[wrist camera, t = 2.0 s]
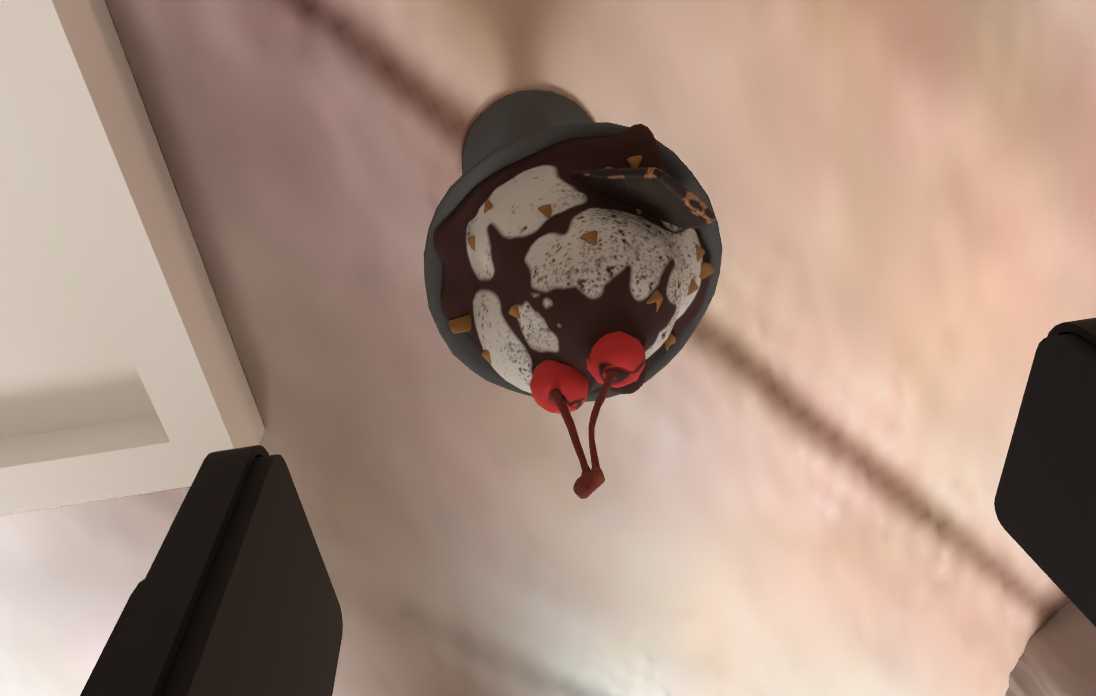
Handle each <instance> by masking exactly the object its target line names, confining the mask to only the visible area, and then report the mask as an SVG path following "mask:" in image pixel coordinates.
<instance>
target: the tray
mask: <svg viewBox="0 0 1096 696" xmlns="http://www.w3.org/2000/svg"><path fill="white" fill-rule="evenodd" d="M264 433H265V428H264V425H263V422H262V420H261V417H260V414H259V412H258V409H257V406H256V404H255V401H254V398H253V396H252V393H251V390H250V388H249V385H248V382H247V380H246V377H245V374H244V372H243V369H242V366H241V364H240V361H239V358H238V356H237V353H236V350H235V348H234V345H233V342H232V339H231V337H230V334H229V331H228V329H227V326H226V323H225V321H224V318H223V315H222V313H221V310H220V307H219V305H218V302H217V299H216V297H215V294H214V291H213V289H212V286H211V283H210V281H209V278H208V275H207V273H206V270H205V267H204V265H203V262H202V259H201V257H200V254H199V251H198V249H197V246H196V243H195V241H194V238H193V235H192V233H191V230H190V227H189V225H188V222H187V219H186V217H185V214H184V211H183V209H182V206H181V203H180V201H179V198H178V195H177V193H176V190H175V187H174V184H173V182H172V179H171V176H170V174H169V171H168V168H167V166H166V163H165V160H164V158H163V155H162V152H161V150H160V147H159V144H158V142H157V139H156V136H155V134H154V131H153V128H152V126H151V123H150V120H149V118H148V115H147V112H146V110H145V107H144V104H143V102H142V99H141V96H140V94H139V91H138V88H137V86H136V83H135V80H134V78H133V75H132V72H131V70H130V67H129V64H128V62H127V59H126V56H125V54H124V51H123V48H122V46H121V43H120V40H119V38H118V35H117V32H116V30H115V27H114V24H113V21H112V19H111V16H110V13H109V11H108V8H107V5H106V3H105V0H0V516H4V515H11V514H17V513H23V512H30V511H36V510H42V509H49V508H55V507H62V506H68V505H74V504H81V503H87V502H94V501H100V500H106V499H113V498H119V497H126V496H132V495H138V494H145V493H151V492H157V491H164V490H170V489H177V488H183V487H189V486H191V485H192V483H193V481H194V479H195V477H196V475H197V473H198V471H199V469H200V467H201V465H202V463H203V461H204V459H205V458H206V456H207V455H208V454H209V453H212V452H216V451H222V450H229V449H235V448H242V447H249V446H255V445H260V442H261V440H262V437H263V435H264Z"/></svg>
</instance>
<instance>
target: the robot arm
mask: <svg viewBox="0 0 1096 696" xmlns="http://www.w3.org/2000/svg"><path fill="white" fill-rule="evenodd" d="M994 505H995V512H996V515H997V518H998V520H999V522H1000V524H1001V525H1002V526H1003V528H1004V529H1005V530H1006V531H1007V532H1008V533H1009V535H1010V536H1011V537H1012V538H1013V539H1014V540H1015V541H1016V542H1017V543H1018V544H1019V545H1020V546H1021V547H1022V549H1023V550H1024V551H1025V552H1026V553H1027V554H1028V555H1029V556H1030V557H1031V558H1032V559H1033V560H1034V561H1035V563H1036V564H1037V565H1038V566H1039V567H1040V568H1041V569H1042V570H1043V571H1044V572H1045V573H1046V574H1047V575H1048V577H1049V578H1050V579H1051V580H1052V581H1053V582H1054V583H1055V584H1056V585H1057V586H1058V587H1059V588H1060V589H1061V591H1062V592H1063V593H1064V594H1065V595H1066V596H1067V597H1068V598H1069V599H1070V600H1071V601H1072V602H1073V603H1074V605H1075V606H1076V607H1077V608H1078V609H1079V610H1080V611H1081V612H1082V613H1083V614H1084V615H1085V616H1086V617H1087V619H1088V620H1089V621H1090V622H1091V623H1092V624H1093V625H1094V626H1095V627H1096V318H1091V319H1084V320H1078V321H1071V322H1064V323H1061V324H1059V325H1056V326H1055V327H1054V328H1053V329H1052V330H1051V331H1050V332H1049V334H1048V336H1047V338H1044V339H1043V340H1042V341H1041V342H1040V343H1039V345H1038V347H1037V350H1036V353H1035V357H1034V360H1033V364H1032V367H1031V371H1030V375H1029V378H1028V382H1027V385H1026V389H1025V393H1024V396H1023V400H1022V403H1021V407H1020V410H1019V414H1018V418H1017V421H1016V425H1015V428H1014V432H1013V435H1012V439H1011V443H1010V446H1009V450H1008V453H1007V457H1006V460H1005V464H1004V468H1003V471H1002V475H1001V478H1000V482H999V486H998V489H997V493H996V496H995V502H994ZM342 629H343V623H342V613H341V608H340V605H339V602H338V599H337V597H336V594H335V591H334V589H333V586H332V583H331V581H330V578H329V575H328V573H327V570H326V568H325V565H324V562H323V560H322V557H321V554H320V552H319V549H318V546H317V544H316V541H315V539H314V536H313V533H312V531H311V528H310V525H309V523H308V520H307V517H306V515H305V512H304V509H303V507H302V504H301V502H300V499H299V496H298V494H297V491H296V488H295V486H294V483H293V480H292V478H291V475H290V473H289V470H288V467H287V465H286V463H285V460H284V459H283V457H282V456H281V455H278V454H277V455H271V456H269V454H268V452H267V451H266V450H265V448H264V447H263V446H260V445H255V446H249V447H242V448H235V449H229V450H222V451H216V452H212V453H209V454H208V455H207V456H206V458H205V459H204V461H203V463H202V465H201V467H200V469H199V471H198V473H197V475H196V477H195V479H194V481H193V483H192V485H191V487H190V489H189V491H188V493H187V495H186V497H185V499H184V501H183V503H182V505H181V507H180V509H179V511H178V513H177V515H176V517H175V519H174V521H173V523H172V525H171V527H170V529H169V531H168V533H167V536H166V538H165V540H164V542H163V544H162V546H161V548H160V550H159V552H158V554H157V556H156V558H155V560H154V562H153V564H152V566H151V568H150V570H149V572H148V574H147V576H146V578H145V579H144V580H143V581H141V582H140V583H139V584H138V585H137V587H136V588H135V590H134V591H133V593H132V594H131V596H130V598H129V600H128V602H127V604H126V606H125V608H124V610H123V612H122V614H121V616H120V618H119V620H118V622H117V623H116V625H115V627H114V629H113V631H112V633H111V635H110V637H109V639H108V641H107V643H106V645H105V647H104V649H103V651H102V653H101V655H100V657H99V659H98V661H97V663H96V665H95V667H94V669H93V671H92V673H91V675H90V677H89V679H88V681H87V683H86V685H85V687H84V689H83V691H82V693H81V695H80V696H332V693H333V687H334V681H335V675H336V669H337V663H338V657H339V651H340V645H341V639H342Z"/></svg>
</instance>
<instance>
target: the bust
mask: <svg viewBox="0 0 1096 696" xmlns="http://www.w3.org/2000/svg"><path fill="white" fill-rule="evenodd" d="M1005 696H1096V627H1095V626H1094V625H1093V624H1092V623H1091V622H1090V621H1089V620H1088V619H1087V617H1086V616H1085V615H1084V614H1083V613H1082V612H1081V611H1080V610H1079V609H1078V608H1077V607H1076V606H1075V605H1074V603H1073V602H1072V601H1070V602H1068V603H1067V604H1065V605H1064V606H1063V607H1062V608H1060V609H1059V610H1058V612H1057V613H1056V614H1055V615H1054V616H1053V617H1052V618H1051V619H1050V620H1049V621H1048V622H1047V623H1046V624H1045V625H1044V627H1043V628H1042V629H1040V630H1039V631H1038V632H1037V633H1035V634H1034V635H1033V636H1032V638H1031V639H1030V640H1029V642H1028V643H1027V645H1026V648H1025V650H1024V653H1023V655H1022V656H1021V657H1020V658H1019V660H1018V663H1017V665H1016V667H1015V668H1014V670H1013V671H1012V672H1011V673H1010V675H1009V688H1008V690H1007V692H1006V695H1005Z"/></svg>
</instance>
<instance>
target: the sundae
mask: <svg viewBox="0 0 1096 696" xmlns="http://www.w3.org/2000/svg"><path fill="white" fill-rule="evenodd" d="M462 169H463V175H462V176H461V177H460V178H459V179H458V180H457V181H456V182H455V183H454V184H453V185H452V186H451V187H450V188H449V190H448V191H447V193H446V194H445V196H444V197H443V199H442V201H441V202H440V204H439V205H438V207H437V209H436V211H435V214H434V216H433V219H432V222H431V224H430V227H429V230H428V235H427V240H426V246H425V251H424V274H425V285H426V292H427V298H428V305H429V309H430V312H431V314H432V316H433V319H434V321H435V323H436V325H437V328H438V330H439V332H440V334H441V336H442V337H443V339H444V340H445V342H446V344H447V345H448V347H449V348H450V350H451V352H452V353H453V355H455V356H456V357H457V358H458V359H459V360H460V361H461V362H462V363H464V364H465V365H466V366H467V367H468V368H469V369H470V370H472V371H473V372H475V373H476V374H478V375H479V376H481V377H482V378H484V379H485V380H487V381H489V382H491V383H494V384H496V385H499V386H501V387H504V388H506V389H509V390H512V391H515V392H518V393H521V394H524V395H528V396H532V397H533V398H534V399H535V401H536V402H537V404H538V405H539V406H541V407H542V408H544V409H545V410H547V411H549V412H553V413H561V415H562V417H563V419H564V421H565V424H566V426H567V428H568V431H569V434H570V437H571V440H572V443H573V446H574V448H575V451H576V453H577V456H578V458H579V461H580V464H581V468H582V475H581V477H579V478H578V479H577V481H576V483H575V484H574V489H573V490H574V492H575V493H576V494H577V495H578V496H579V497H580V498H581V499H584V498H587V497H588V496H589V495H590V494H591V493H592V492H593V491H595V490H596V489H597V488H598V487H599V486H600V485H601V484H603V483H604V481H605V478H604V475H603V472H602V470H601V469H600V466H599V461H598V456H597V450H596V445H595V439H594V428H595V424H596V420H597V417H598V414H599V411H600V407H601V405H602V404H603V402H604V400H605V398H609V397H612V396H615V395H619V394H631V393H634V392H635V391H637V390H638V389H639V388H640V387H641V386H642V385H643V383H645V382H647V381H648V380H649V379H650V378H651V377H653V376H654V375H655V374H656V373H658V372H659V371H660V370H661V369H662V368H664V367H665V366H666V365H667V364H668V363H669V362H670V361H671V360H672V359H673V358H674V357H675V356H676V355H677V353H678V352H679V351H680V350H681V349H682V348H683V347H684V345H685V344H686V342H687V341H688V339H689V338H690V336H691V335H692V333H693V332H694V330H695V329H696V327H697V325H698V324H699V322H700V320H701V319H702V317H703V315H704V313H705V312H706V310H707V308H708V306H709V303H710V301H711V299H712V297H713V295H714V293H715V289H716V286H717V282H718V278H719V274H720V266H721V256H722V244H721V238H720V233H719V228H718V222H717V220H716V217H715V214H714V211H713V208H712V205H711V203H710V200H709V197H708V195H707V194H706V192H705V191H704V189H703V188H702V187H701V185H700V184H699V182H698V181H697V179H696V178H695V176H694V175H693V174H692V172H691V171H690V170H689V169H688V168H687V166H686V165H685V164H684V163H683V162H682V161H681V160H680V159H679V157H678V156H677V155H676V154H675V153H674V152H673V151H671V150H670V149H668V148H667V147H666V146H664V145H663V144H661V143H660V142H659V141H657V140H656V139H655V138H654V135H653V133H652V132H651V131H650V130H649V128H648V127H646V126H644V125H643V124H637V125H633V126H631V127H626V126H621V125H617V124H612V123H608V122H607V123H594V122H593V121H592V120H591V119H590V117H589V116H588V115H587V113H586V112H585V111H584V110H582V109H581V108H580V107H579V106H578V105H577V104H576V103H575V102H573V101H571V100H569V99H567V98H565V97H563V96H561V95H558V94H555V93H553V92H550V91H538V90H532V91H520V92H517V93H514V94H511V95H508V96H506V97H504V98H502V99H500V100H498V101H496V102H494V103H493V104H491V105H490V106H489V107H488V108H487V109H486V110H485V111H484V112H483V113H482V114H481V115H480V116H479V117H478V119H477V120H476V121H475V122H474V123H473V125H472V127H471V129H470V132H469V134H468V136H467V139H466V142H465V145H464V148H463V156H462ZM587 401H596V402H595V404H594V407H593V410H592V413H591V417H590V423H589V447H590V455H591V462H592V469H591V470H590V468H589V466H588V464H587V461H586V458H585V455H584V452H583V449H582V447H581V444H580V441H579V437H578V434H577V431H576V427H575V424H574V422H573V419H572V416H571V414H570V412H572V411H574V410H577V409H578V408H579V407H580V406H581V405H582V404H583V403H584V402H587Z"/></svg>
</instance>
